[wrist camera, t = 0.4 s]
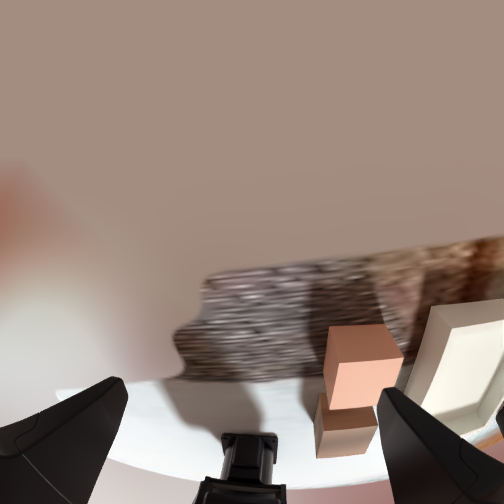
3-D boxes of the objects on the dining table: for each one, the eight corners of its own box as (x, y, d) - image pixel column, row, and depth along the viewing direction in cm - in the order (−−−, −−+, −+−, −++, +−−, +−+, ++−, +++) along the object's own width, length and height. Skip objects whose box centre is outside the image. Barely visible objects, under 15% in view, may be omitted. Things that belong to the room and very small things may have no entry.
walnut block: (357, 419, 26) (364, 453, 21) (313, 422, 26) (316, 458, 21) (367, 389, 24) (378, 425, 19) (319, 393, 25) (323, 431, 20)
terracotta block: (373, 367, 23) (387, 403, 19) (322, 370, 24) (329, 409, 19) (384, 323, 22) (403, 357, 17) (329, 325, 22) (339, 363, 18)
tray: (474, 409, 25) (485, 428, 21) (385, 432, 26) (392, 457, 22) (525, 295, 19) (545, 309, 16) (431, 305, 21) (451, 328, 17)
